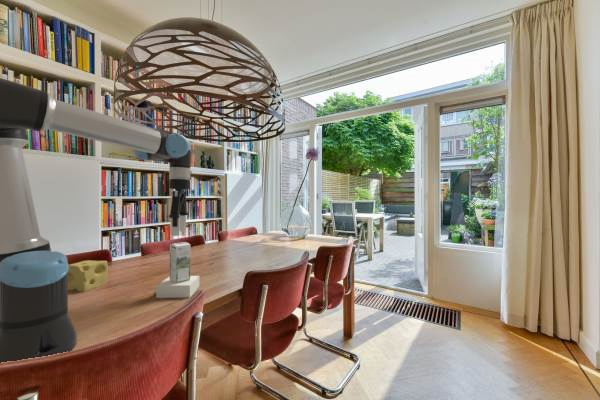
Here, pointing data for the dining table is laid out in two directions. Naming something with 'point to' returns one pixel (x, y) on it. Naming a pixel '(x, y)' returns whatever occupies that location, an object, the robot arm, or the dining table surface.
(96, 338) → the dining table surface
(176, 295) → the cream block
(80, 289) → the cheese
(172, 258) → the syrup box
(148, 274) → the dining table surface
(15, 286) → the robot arm
